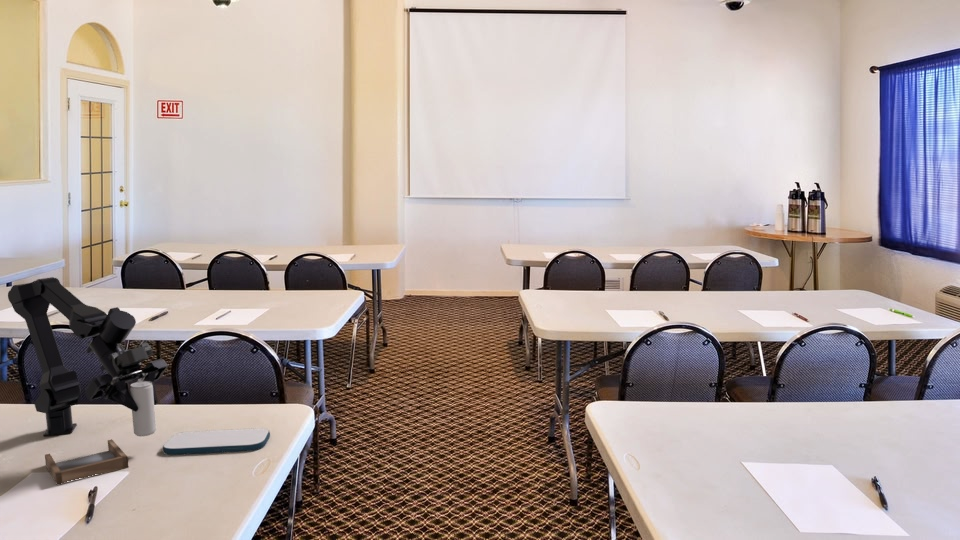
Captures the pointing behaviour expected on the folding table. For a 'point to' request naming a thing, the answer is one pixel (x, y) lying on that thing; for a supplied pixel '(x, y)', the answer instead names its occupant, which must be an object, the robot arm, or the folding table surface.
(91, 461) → the bay
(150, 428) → the beverage can
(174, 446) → the external hard drive
